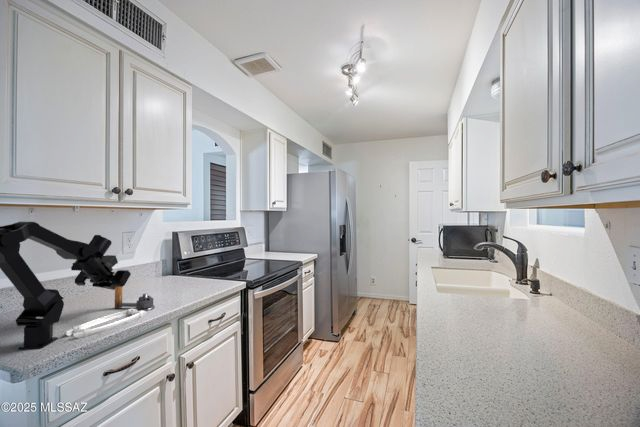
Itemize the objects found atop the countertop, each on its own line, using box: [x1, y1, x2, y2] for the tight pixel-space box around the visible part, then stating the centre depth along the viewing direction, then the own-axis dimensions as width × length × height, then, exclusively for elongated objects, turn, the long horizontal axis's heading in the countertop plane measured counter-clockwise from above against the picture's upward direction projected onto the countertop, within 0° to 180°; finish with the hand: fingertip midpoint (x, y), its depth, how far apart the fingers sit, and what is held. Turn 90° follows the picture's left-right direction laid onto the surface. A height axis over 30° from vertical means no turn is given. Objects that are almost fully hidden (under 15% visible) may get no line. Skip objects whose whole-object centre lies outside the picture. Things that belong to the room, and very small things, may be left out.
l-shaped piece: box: [114, 271, 154, 309], centre depth 121 cm, size 14×4×15 cm, turn 91°
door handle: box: [64, 307, 147, 339], centre depth 104 cm, size 3×10×25 cm
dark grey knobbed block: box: [134, 293, 156, 312], centre depth 121 cm, size 7×7×6 cm
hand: (114, 288), depth 118 cm, fingers closed
